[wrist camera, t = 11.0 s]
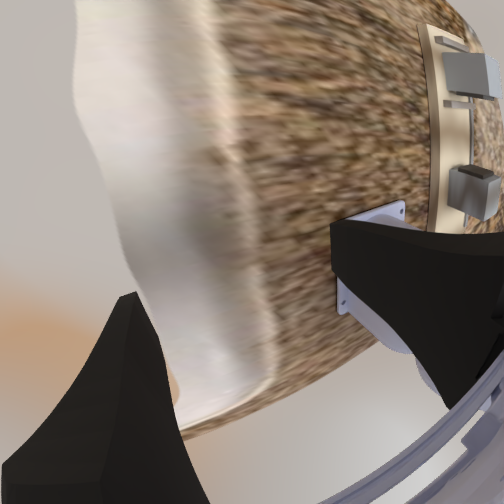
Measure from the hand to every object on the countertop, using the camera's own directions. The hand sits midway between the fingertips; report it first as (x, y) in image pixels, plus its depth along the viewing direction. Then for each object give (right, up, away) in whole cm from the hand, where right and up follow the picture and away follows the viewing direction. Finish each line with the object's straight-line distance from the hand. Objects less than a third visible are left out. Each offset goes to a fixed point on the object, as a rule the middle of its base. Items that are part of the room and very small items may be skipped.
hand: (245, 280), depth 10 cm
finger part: (+20, +19, +9) cm, 29 cm away
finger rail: (+21, +13, +14) cm, 28 cm away
